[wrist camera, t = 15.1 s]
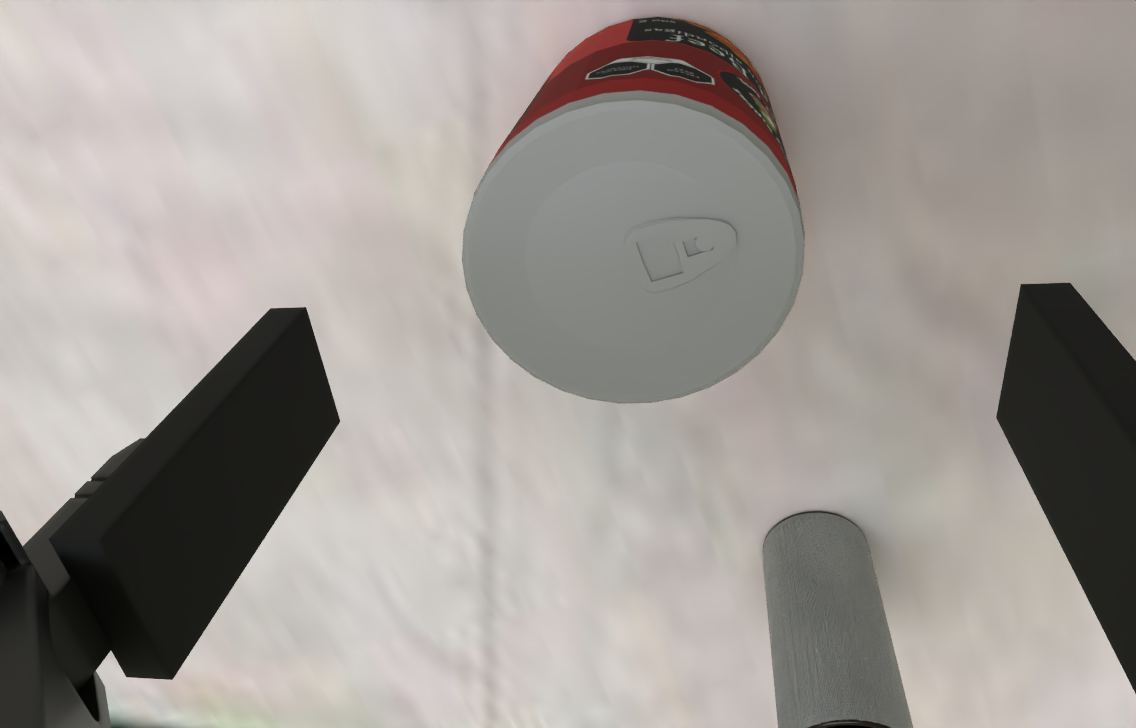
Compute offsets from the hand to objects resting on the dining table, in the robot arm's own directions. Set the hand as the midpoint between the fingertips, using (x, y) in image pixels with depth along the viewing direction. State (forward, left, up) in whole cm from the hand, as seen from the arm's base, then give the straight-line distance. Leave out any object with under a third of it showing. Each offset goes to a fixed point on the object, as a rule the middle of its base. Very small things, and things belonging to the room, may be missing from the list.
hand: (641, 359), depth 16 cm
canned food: (+1, 0, -15) cm, 15 cm away
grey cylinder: (-6, +19, -15) cm, 25 cm away
